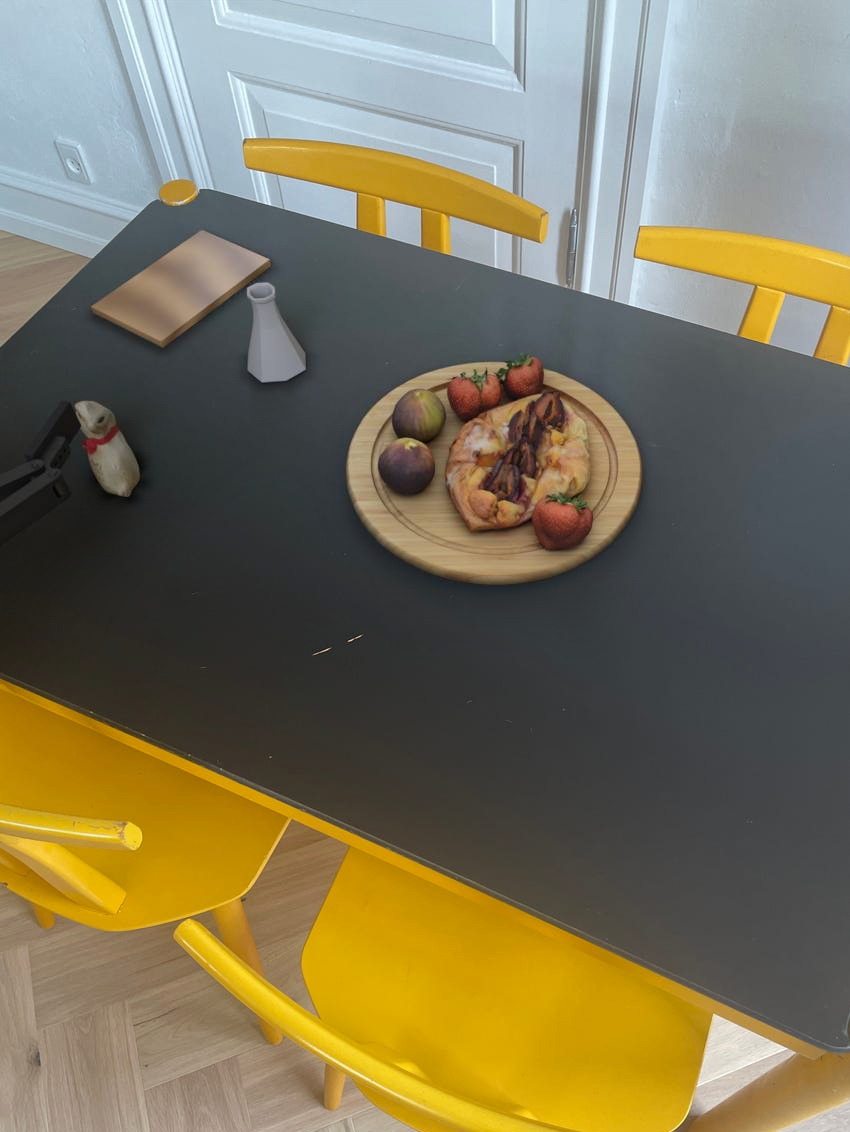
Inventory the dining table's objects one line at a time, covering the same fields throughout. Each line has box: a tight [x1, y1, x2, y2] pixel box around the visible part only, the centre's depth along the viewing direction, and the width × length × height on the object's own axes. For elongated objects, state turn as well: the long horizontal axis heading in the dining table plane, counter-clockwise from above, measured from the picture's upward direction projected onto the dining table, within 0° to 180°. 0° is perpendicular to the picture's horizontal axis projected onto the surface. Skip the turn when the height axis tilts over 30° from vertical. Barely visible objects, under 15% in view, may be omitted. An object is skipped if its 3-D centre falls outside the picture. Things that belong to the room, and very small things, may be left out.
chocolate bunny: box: [74, 400, 141, 498], centre depth 92 cm, size 6×8×10 cm
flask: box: [246, 281, 307, 383], centre depth 102 cm, size 7×7×10 cm
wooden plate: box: [345, 351, 644, 586], centre depth 93 cm, size 32×32×8 cm
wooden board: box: [90, 229, 272, 348], centre depth 114 cm, size 20×12×1 cm, turn 147°
